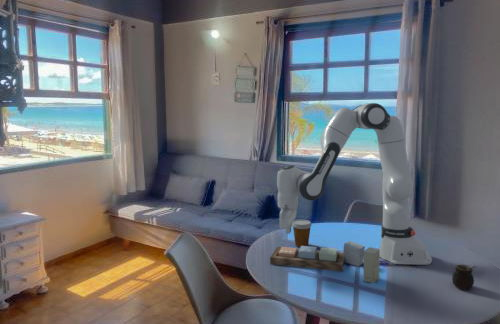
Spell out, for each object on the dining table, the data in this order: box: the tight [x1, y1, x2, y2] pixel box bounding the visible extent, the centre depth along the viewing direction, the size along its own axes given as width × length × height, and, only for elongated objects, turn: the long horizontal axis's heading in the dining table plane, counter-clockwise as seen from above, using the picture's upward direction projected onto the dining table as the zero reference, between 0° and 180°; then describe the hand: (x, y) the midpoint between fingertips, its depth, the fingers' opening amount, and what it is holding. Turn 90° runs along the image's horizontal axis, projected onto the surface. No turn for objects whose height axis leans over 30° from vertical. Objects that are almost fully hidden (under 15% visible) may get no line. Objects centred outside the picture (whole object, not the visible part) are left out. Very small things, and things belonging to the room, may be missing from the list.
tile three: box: [278, 246, 298, 258], centre depth 174 cm, size 7×7×3 cm
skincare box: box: [362, 246, 380, 284], centre depth 152 cm, size 6×4×12 cm
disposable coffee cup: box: [291, 219, 312, 248], centre depth 190 cm, size 10×10×12 cm
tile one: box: [319, 247, 338, 262], centre depth 168 cm, size 7×7×3 cm
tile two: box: [298, 245, 318, 259], centre depth 171 cm, size 7×7×3 cm
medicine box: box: [342, 240, 366, 267], centre depth 168 cm, size 8×4×9 cm, turn 46°
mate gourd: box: [451, 264, 477, 291], centre depth 144 cm, size 7×8×10 cm
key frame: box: [269, 246, 345, 272], centre depth 171 cm, size 31×13×3 cm, turn 72°
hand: (288, 232), depth 172 cm, fingers closed
